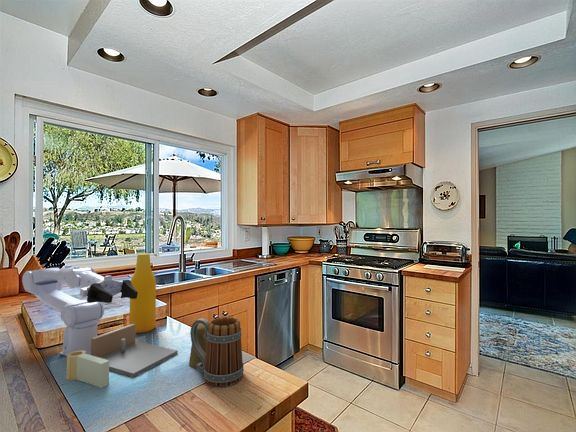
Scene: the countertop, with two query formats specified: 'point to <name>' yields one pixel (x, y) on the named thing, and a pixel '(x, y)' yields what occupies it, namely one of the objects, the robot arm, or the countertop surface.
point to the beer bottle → (143, 296)
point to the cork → (202, 342)
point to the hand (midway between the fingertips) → (124, 297)
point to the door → (87, 368)
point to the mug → (220, 351)
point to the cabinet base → (128, 351)
